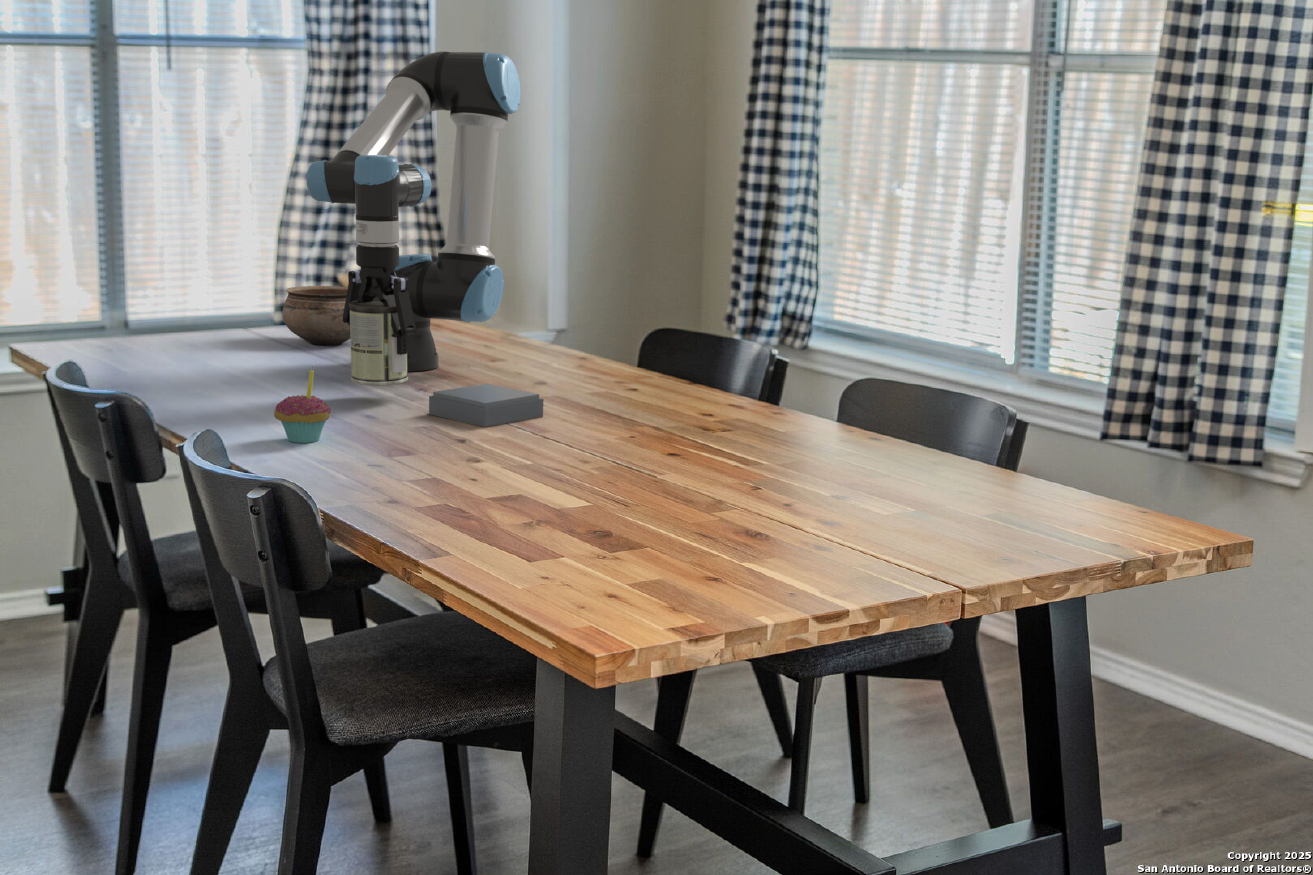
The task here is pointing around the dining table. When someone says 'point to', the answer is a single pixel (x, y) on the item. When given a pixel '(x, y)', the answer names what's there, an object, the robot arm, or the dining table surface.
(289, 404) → the cupcake
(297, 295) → the cooking pot
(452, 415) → the pedestal
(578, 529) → the dining table surface
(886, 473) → the dining table surface
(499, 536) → the dining table surface
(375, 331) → the coffee can
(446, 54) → the robot arm
